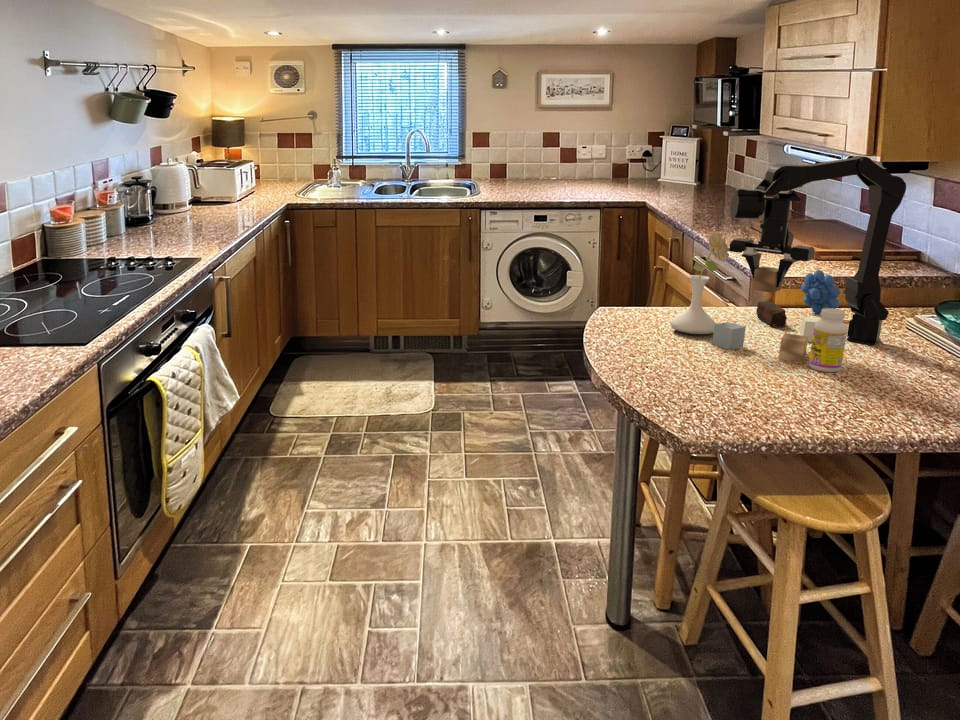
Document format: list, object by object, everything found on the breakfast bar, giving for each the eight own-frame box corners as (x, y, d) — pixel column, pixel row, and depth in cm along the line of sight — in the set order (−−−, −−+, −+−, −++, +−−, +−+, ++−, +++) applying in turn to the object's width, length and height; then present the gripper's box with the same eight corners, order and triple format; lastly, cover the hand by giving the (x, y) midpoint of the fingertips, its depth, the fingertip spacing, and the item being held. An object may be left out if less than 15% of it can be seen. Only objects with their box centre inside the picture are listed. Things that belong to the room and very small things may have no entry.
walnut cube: (780, 289, 211) (783, 269, 209) (773, 292, 207) (775, 271, 205) (759, 286, 214) (762, 266, 212) (752, 289, 210) (754, 268, 208)
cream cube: (821, 338, 216) (824, 318, 215) (824, 343, 211) (827, 323, 210) (799, 336, 217) (802, 316, 216) (802, 341, 212) (805, 321, 211)
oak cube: (805, 358, 198) (808, 336, 196) (801, 363, 194) (805, 341, 192) (782, 354, 200) (785, 333, 199) (778, 359, 196) (781, 337, 194)
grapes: (789, 311, 243) (795, 268, 240) (803, 308, 247) (809, 266, 244) (827, 320, 235) (834, 276, 231) (841, 317, 239) (848, 273, 235)
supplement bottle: (803, 363, 193) (812, 306, 190) (834, 364, 193) (843, 307, 189) (814, 372, 187) (822, 313, 183) (845, 373, 187) (855, 314, 183)
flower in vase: (688, 339, 209) (699, 234, 202) (660, 328, 219) (670, 227, 212) (732, 335, 215) (744, 233, 208) (702, 324, 225) (713, 226, 217)
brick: (755, 318, 235) (757, 301, 233) (769, 318, 235) (771, 301, 234) (770, 328, 225) (772, 310, 223) (785, 328, 225) (788, 310, 224)
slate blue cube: (743, 347, 205) (745, 326, 204) (729, 350, 202) (732, 329, 201) (725, 342, 209) (727, 321, 207) (712, 345, 206) (714, 324, 204)
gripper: (826, 221, 206) (817, 286, 211) (749, 213, 217) (741, 275, 221) (811, 225, 198) (802, 293, 202) (732, 216, 208) (724, 281, 213)
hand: (766, 285), depth 210 cm, fingers closed on walnut cube, 5 cm apart
